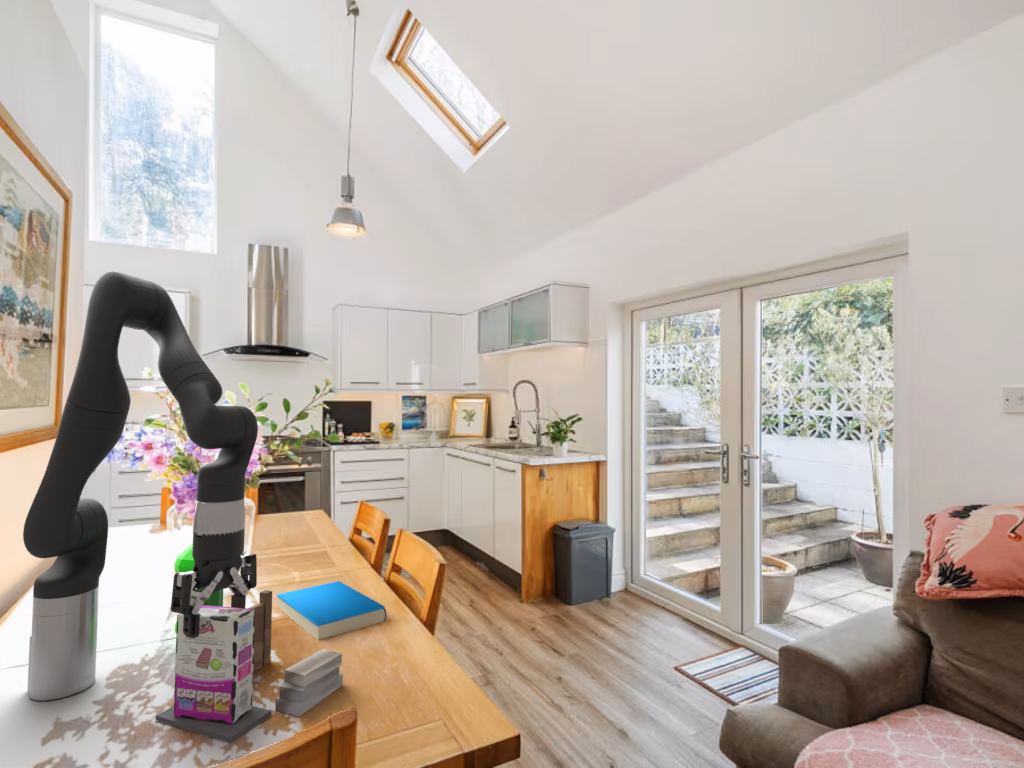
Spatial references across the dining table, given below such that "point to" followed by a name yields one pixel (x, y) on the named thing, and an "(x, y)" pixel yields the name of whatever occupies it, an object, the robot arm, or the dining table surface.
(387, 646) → the dining table surface
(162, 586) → the dining table surface
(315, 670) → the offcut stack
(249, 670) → the candy bar box
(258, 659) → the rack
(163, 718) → the mat
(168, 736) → the dining table surface
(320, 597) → the book
